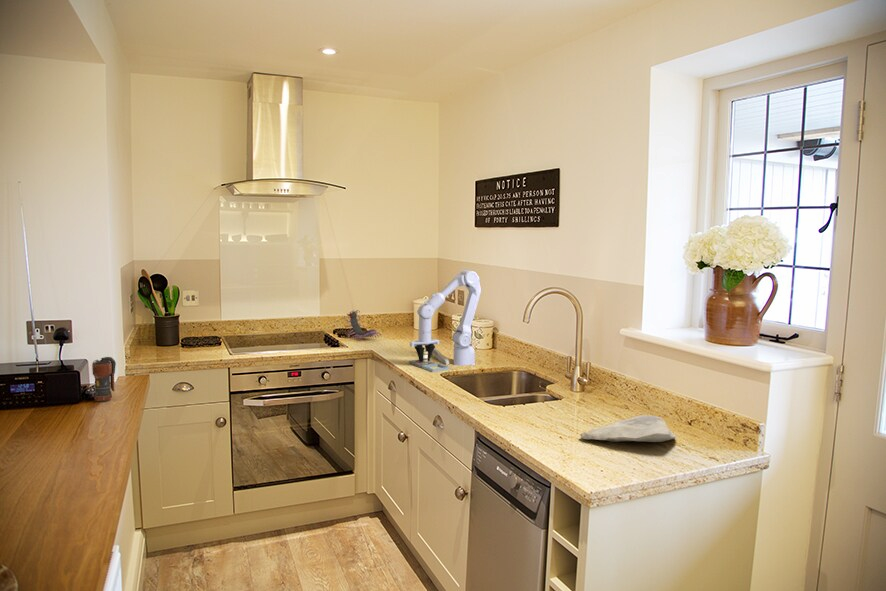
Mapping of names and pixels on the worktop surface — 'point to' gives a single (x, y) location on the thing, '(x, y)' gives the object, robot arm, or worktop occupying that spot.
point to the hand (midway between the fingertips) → (424, 361)
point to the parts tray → (443, 367)
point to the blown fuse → (425, 357)
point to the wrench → (440, 356)
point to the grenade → (103, 378)
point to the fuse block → (418, 363)
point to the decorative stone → (633, 430)
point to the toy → (357, 327)
